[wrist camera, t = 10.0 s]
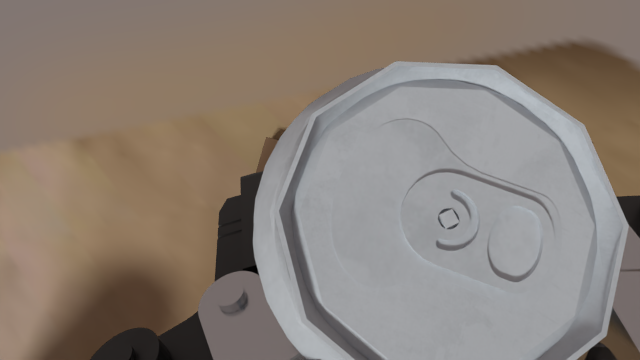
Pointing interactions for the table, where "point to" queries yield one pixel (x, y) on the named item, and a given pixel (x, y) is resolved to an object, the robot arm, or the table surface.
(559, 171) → the beer can
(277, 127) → the table surface
